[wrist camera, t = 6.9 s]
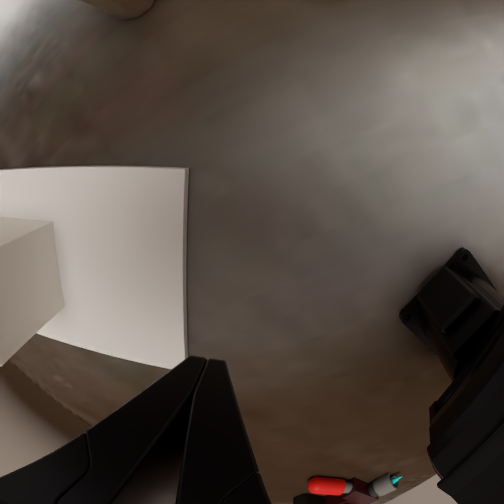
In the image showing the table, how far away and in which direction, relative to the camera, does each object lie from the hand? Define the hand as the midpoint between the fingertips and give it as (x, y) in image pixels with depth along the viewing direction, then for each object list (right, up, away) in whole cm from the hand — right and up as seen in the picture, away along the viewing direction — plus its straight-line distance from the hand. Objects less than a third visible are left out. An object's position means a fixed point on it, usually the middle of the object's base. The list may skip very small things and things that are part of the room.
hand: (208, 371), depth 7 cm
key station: (-12, +2, +13) cm, 18 cm away
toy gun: (+11, -23, +21) cm, 33 cm away
